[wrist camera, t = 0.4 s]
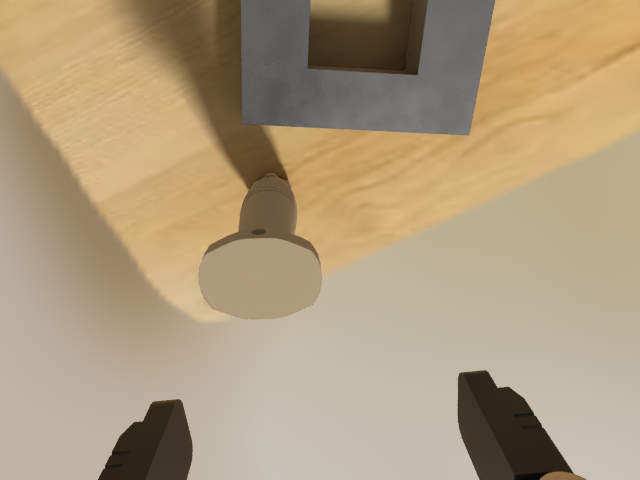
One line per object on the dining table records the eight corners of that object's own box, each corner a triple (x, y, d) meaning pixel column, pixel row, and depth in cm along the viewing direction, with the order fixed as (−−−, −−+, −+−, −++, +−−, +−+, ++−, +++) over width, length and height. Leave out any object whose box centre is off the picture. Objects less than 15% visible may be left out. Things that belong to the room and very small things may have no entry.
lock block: (245, -149, 29) (239, -176, 25) (495, -126, 30) (523, -148, 26) (247, 114, 35) (242, 123, 32) (451, 125, 36) (469, 135, 33)
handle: (311, 216, 39) (322, 316, 25) (235, 219, 39) (204, 321, 25) (310, 160, 37) (321, 236, 23) (229, 162, 37) (192, 240, 23)
